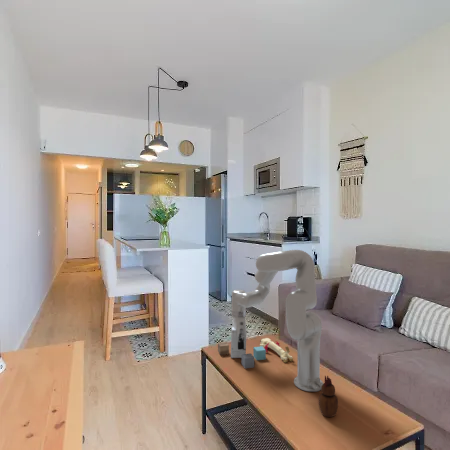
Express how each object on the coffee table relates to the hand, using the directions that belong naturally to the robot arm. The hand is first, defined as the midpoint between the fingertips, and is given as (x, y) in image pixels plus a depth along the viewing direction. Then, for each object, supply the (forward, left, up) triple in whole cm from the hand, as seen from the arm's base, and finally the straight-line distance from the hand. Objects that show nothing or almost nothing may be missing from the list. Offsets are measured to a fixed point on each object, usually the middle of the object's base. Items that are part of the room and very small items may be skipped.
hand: (238, 346), depth 165 cm
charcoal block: (-12, -1, -5) cm, 13 cm away
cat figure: (-1, -20, -6) cm, 21 cm away
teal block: (-5, -10, -5) cm, 12 cm away
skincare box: (0, 0, -6) cm, 6 cm away
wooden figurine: (-57, -17, -6) cm, 60 cm away
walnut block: (+6, +7, -5) cm, 11 cm away
